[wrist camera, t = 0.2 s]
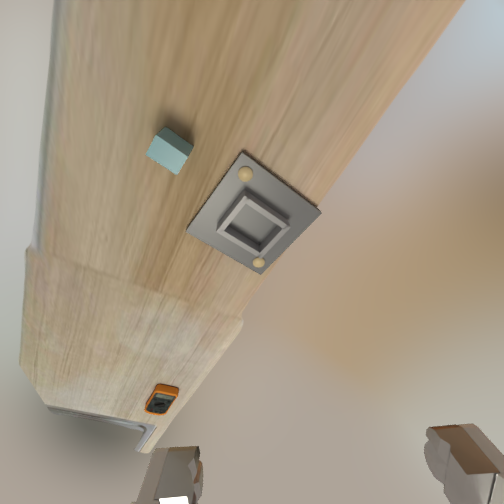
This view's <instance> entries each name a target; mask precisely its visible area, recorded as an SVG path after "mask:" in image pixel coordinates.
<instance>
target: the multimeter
mask: <svg viewBox="0 0 504 504" xmlns="http://www.w3.org/2000/svg"><path fill="white" fill-rule="evenodd" d="M178 392H179V390H178V388H176V387H172V386H167V385H163V384H158V385H157V386H156V388H155V390H154V392H153V394H152V395H151V397H150V399H149V400H148V402H147V403H146V406H145V409H144V410H145V412H147V413H149V414H154V415H164V414H166V413H167V411H168V409H169V408H170V406H171V405H172V403H173V402H174V400H175V399H176V398H177V397H178Z"/></svg>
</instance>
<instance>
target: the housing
mask: <svg viewBox="0 0 504 504" xmlns="http://www.w3.org/2000/svg"><path fill="white" fill-rule="evenodd" d="M320 214H321V211H320V210H319V209H318V208H316V207H315V206H314V205H312V204H311V203H310V202H308V201H307V200H306V199H304V198H303V197H302V196H301V195H299V194H298V193H297V192H295V191H294V190H293V189H291V188H290V187H289V186H287V185H286V184H285V183H284V182H282V181H281V180H280V179H278V178H277V177H276V176H274V175H273V174H272V173H270V172H269V171H268V170H267V169H265V168H264V167H263V166H261V165H260V164H259V163H257V162H256V161H255V160H253V159H252V158H251V157H250V156H248V155H247V154H246V153H244V152H243V151H242V152H241V153H240V155H239V156H238V157H237V159H236V160H235V162H234V163H233V164H232V166H231V167H230V169H229V170H228V171H227V173H226V174H225V176H224V177H223V178H222V180H221V181H220V183H219V184H218V185H217V187H216V188H215V190H214V191H213V192H212V194H211V195H210V197H209V198H208V199H207V201H206V202H205V204H204V205H203V206H202V208H201V209H200V211H199V212H198V213H197V215H196V216H195V218H194V219H193V220H192V222H191V223H190V225H189V226H188V227H187V229H186V232H187V233H189V234H190V235H192V236H194V237H196V238H197V239H199V240H201V241H203V242H204V243H206V244H208V245H210V246H211V247H213V248H215V249H217V250H218V251H220V252H222V253H224V254H225V255H227V256H229V257H231V258H232V259H234V260H236V261H238V262H239V263H241V264H243V265H245V266H246V267H248V268H250V269H252V270H253V271H255V272H257V273H259V274H260V275H261V274H262V273H263V272H264V271H265V270H266V269H267V268H268V267H269V266H270V265H271V264H272V263H273V262H274V261H275V260H276V259H277V258H278V257H279V256H280V255H281V254H282V253H283V252H284V251H285V250H286V249H287V248H288V247H289V246H290V245H291V244H292V243H293V242H294V241H295V240H296V239H297V238H298V237H299V236H300V235H301V234H302V232H304V231H305V230H306V229H307V227H308V226H310V224H311V223H312V222H313V221H314V220H315V219H316V218H317V217H318V216H319V215H320Z"/></svg>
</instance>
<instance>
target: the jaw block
mask: <svg viewBox="0 0 504 504" xmlns="http://www.w3.org/2000/svg"><path fill="white" fill-rule="evenodd" d="M193 147H194V146H192V145H191V144H189V143H188V142H187V141H185V140H184V139H182V138H181V137H180V136H178V135H177V134H175V133H174V132H173V131H171V130H170V129H168V128H167V127H164V128H163V129H162V130H161V131H160V132H159V133H157V134H156V136H155V138H154V140H153V141H152V143H151V145H150V147H149V149H148V151H147V153H146V155H147V156H148V157H150V158H151V159H153V160H154V161H156V162H158V163H159V164H161V165H162V166H164V167H165V168H167V169H168V170H170V171H171V172H173V173H174V174H176V175H177V174H178V172H179V171H180V169H181V168H182V166H183V164H184V163H185V161H186V159H187V158H188V156H189V154H190V152H191V151H192V149H193Z"/></svg>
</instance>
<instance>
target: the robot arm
mask: <svg viewBox="0 0 504 504" xmlns="http://www.w3.org/2000/svg"><path fill="white" fill-rule="evenodd" d="M426 436H427V437H428V439H429V441H428V442H427V443H426V444H425V447H424V454H425V458H426V462H427V464H428V466H429V469H430V470H431V472H432V474H433V476H434V477H435V478H436V479H437V480H439V481H440V482H442V483H443V484H444V493H445V495H446V497H447V498H448V500H449V502H450V503H451V504H504V455H503V454H502V453H501V452H500V451H499V450H498V449H497V448H496V446H495V445H494V444H493V443H492V442H491V441H490V440H489V439H488V438H487V437H486V436H485V434H484V433H483V432H482V431H481V430H480V429H479V428H478V427H477V426H476V425H474V424H461V425H446V426H435V427H429V428H428V429H427V431H426ZM199 457H200V450H199V446H190V447H170V448H156V449H155V451H154V453H153V454H152V458H151V460H150V463H149V466H148V469H147V472H146V475H145V478H144V481H143V484H142V487H141V490H140V493H139V496H138V498H137V501H136V502H132V503H131V504H198V503H197V501H198V500H199V498H200V497H201V494H202V487H203V466H202V462H201V461H200V460H199Z"/></svg>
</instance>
